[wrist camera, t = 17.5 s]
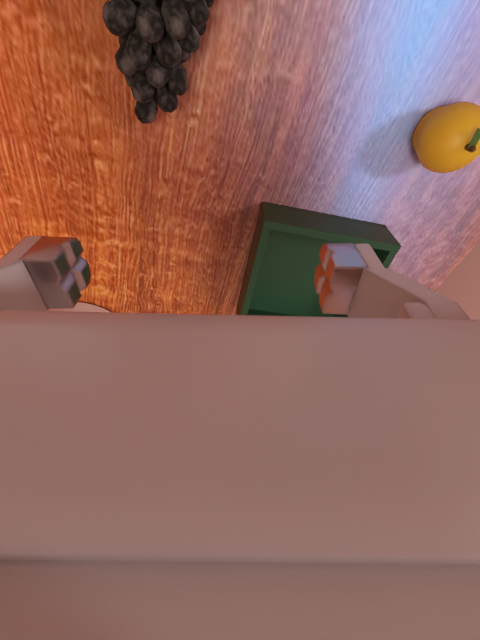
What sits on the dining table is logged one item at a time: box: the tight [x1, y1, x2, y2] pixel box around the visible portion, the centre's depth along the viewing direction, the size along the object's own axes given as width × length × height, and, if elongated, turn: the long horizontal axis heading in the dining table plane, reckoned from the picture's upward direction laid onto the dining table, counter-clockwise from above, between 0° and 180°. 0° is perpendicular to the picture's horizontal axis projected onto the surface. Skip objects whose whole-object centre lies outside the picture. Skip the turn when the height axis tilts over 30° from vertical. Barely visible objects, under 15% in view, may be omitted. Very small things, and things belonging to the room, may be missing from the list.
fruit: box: [103, 0, 214, 123], centre depth 23 cm, size 9×8×15 cm
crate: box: [237, 202, 401, 317], centre depth 41 cm, size 17×16×5 cm
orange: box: [413, 102, 480, 173], centre depth 29 cm, size 6×6×7 cm
